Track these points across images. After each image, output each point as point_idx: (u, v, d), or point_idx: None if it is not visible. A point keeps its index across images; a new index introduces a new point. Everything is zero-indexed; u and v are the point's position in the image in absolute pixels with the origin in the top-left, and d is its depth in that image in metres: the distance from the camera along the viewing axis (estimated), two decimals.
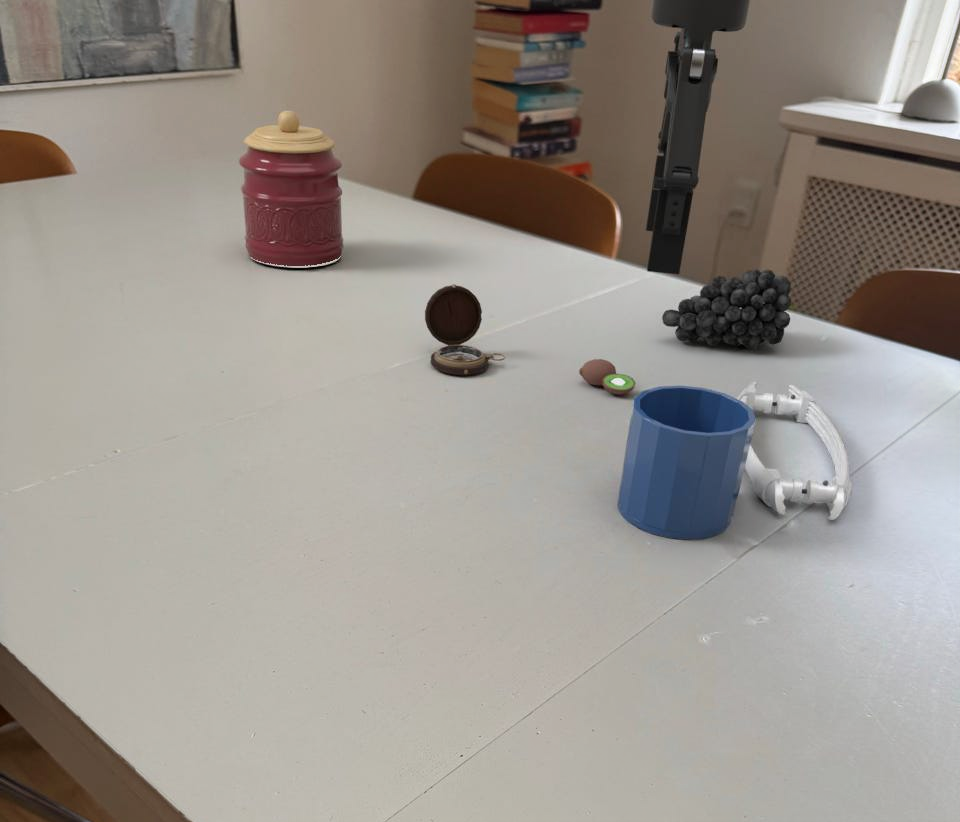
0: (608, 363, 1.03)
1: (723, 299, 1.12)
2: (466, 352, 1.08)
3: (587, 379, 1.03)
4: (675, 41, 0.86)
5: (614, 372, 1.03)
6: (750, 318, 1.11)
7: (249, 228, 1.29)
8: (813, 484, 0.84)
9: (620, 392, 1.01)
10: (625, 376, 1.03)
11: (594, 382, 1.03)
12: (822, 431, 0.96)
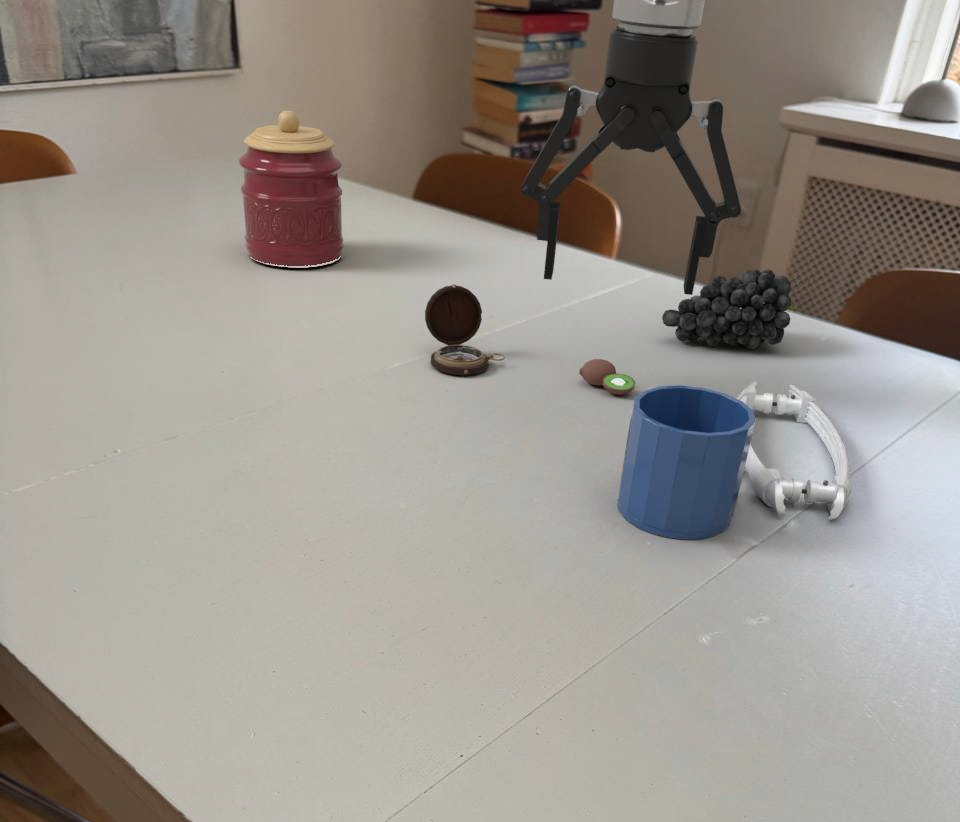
0: (608, 363, 1.03)
1: (723, 299, 1.12)
2: (466, 352, 1.08)
3: (587, 379, 1.03)
4: (576, 97, 0.87)
5: (614, 372, 1.03)
6: (750, 318, 1.11)
7: (249, 228, 1.29)
8: (813, 484, 0.84)
9: (620, 392, 1.01)
10: (625, 376, 1.03)
11: (594, 382, 1.03)
12: (822, 431, 0.96)
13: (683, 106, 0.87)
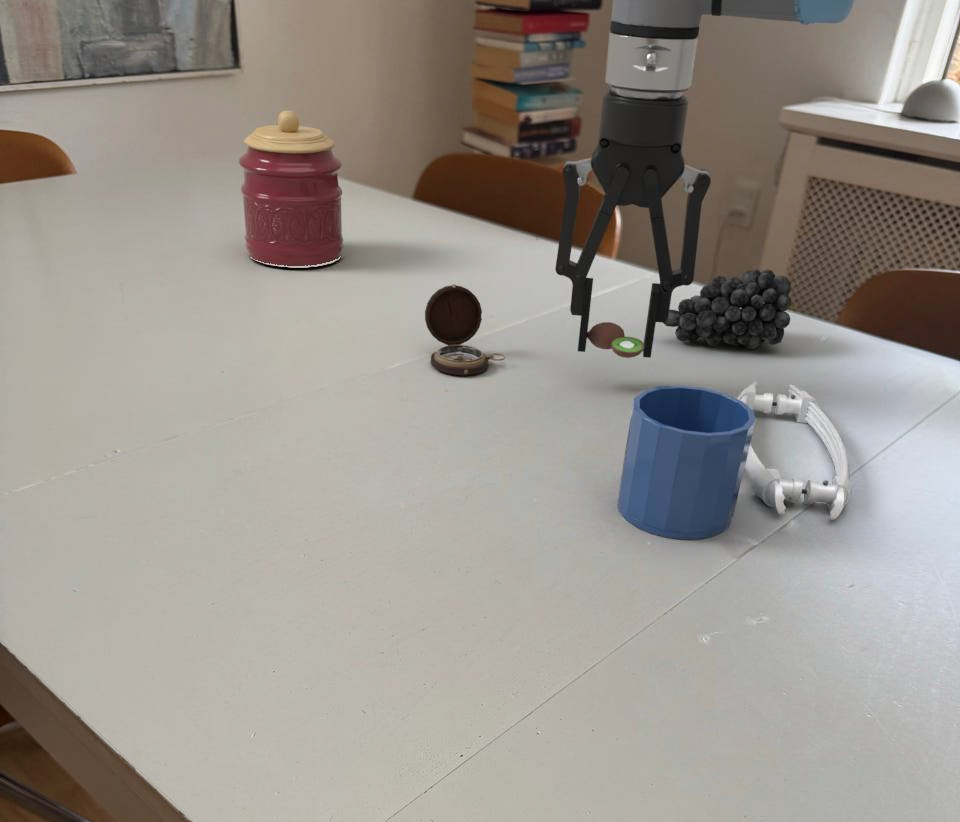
0: (616, 326, 1.01)
1: (723, 299, 1.12)
2: (466, 352, 1.08)
3: (595, 343, 1.01)
4: (572, 171, 0.91)
5: (623, 335, 1.01)
6: (750, 318, 1.11)
7: (249, 228, 1.29)
8: (813, 484, 0.84)
9: (629, 355, 0.99)
10: (634, 339, 1.00)
11: (602, 345, 1.01)
12: (822, 431, 0.96)
13: (676, 164, 0.90)
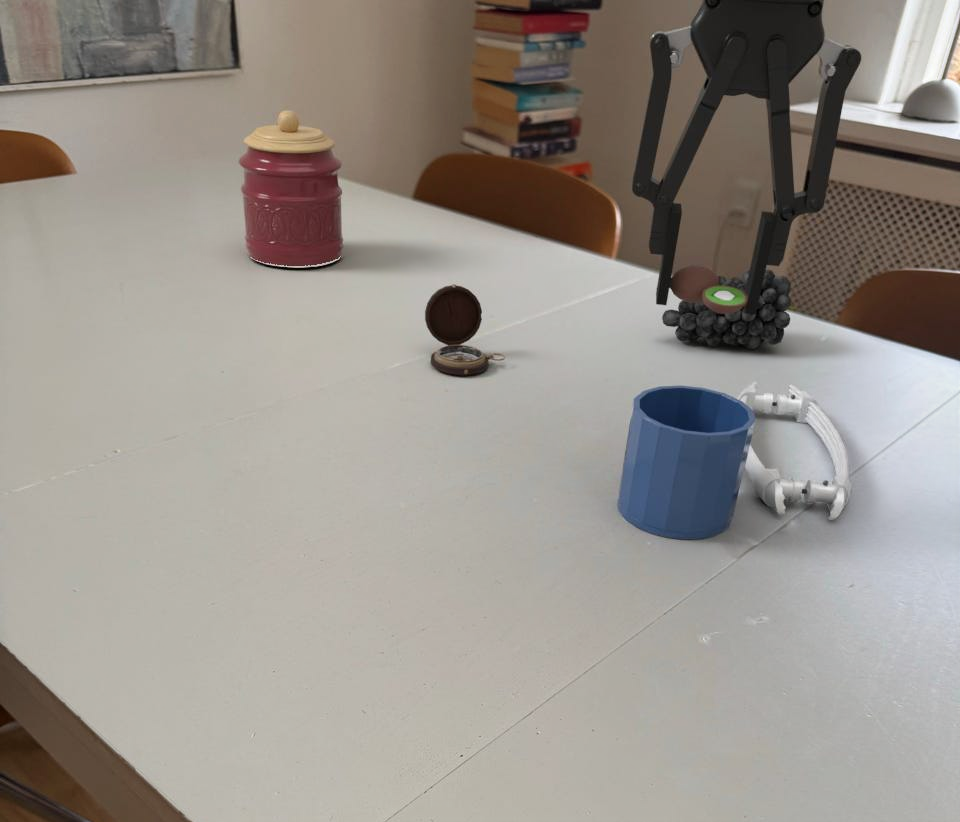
0: (709, 271, 0.74)
1: None
2: (466, 352, 1.08)
3: (680, 293, 0.74)
4: (664, 44, 0.64)
5: (717, 283, 0.74)
6: (750, 318, 1.11)
7: (249, 228, 1.29)
8: (813, 484, 0.84)
9: (727, 309, 0.73)
10: (733, 288, 0.74)
11: (689, 297, 0.74)
12: (822, 431, 0.96)
13: (813, 33, 0.63)
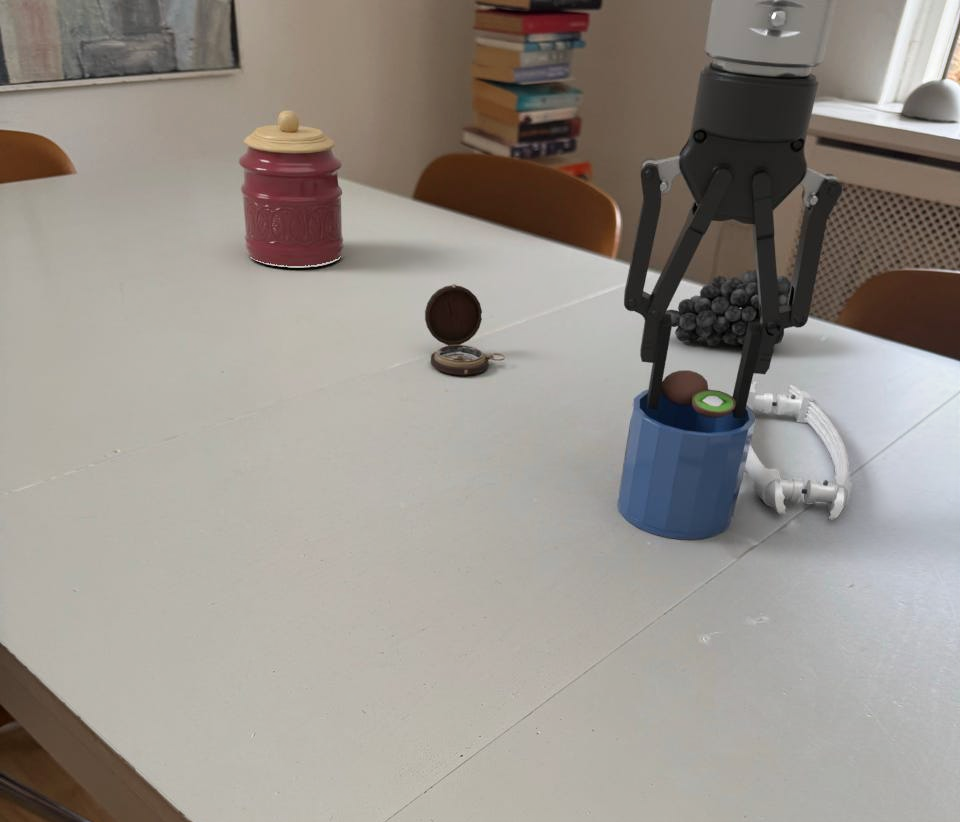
0: (698, 376, 0.77)
1: (723, 299, 1.12)
2: (466, 352, 1.08)
3: (670, 397, 0.77)
4: (654, 174, 0.67)
5: (706, 388, 0.77)
6: (750, 318, 1.11)
7: (249, 228, 1.29)
8: (813, 484, 0.84)
9: (716, 415, 0.76)
10: (722, 393, 0.77)
11: (679, 401, 0.77)
12: (822, 431, 0.96)
13: (796, 166, 0.66)
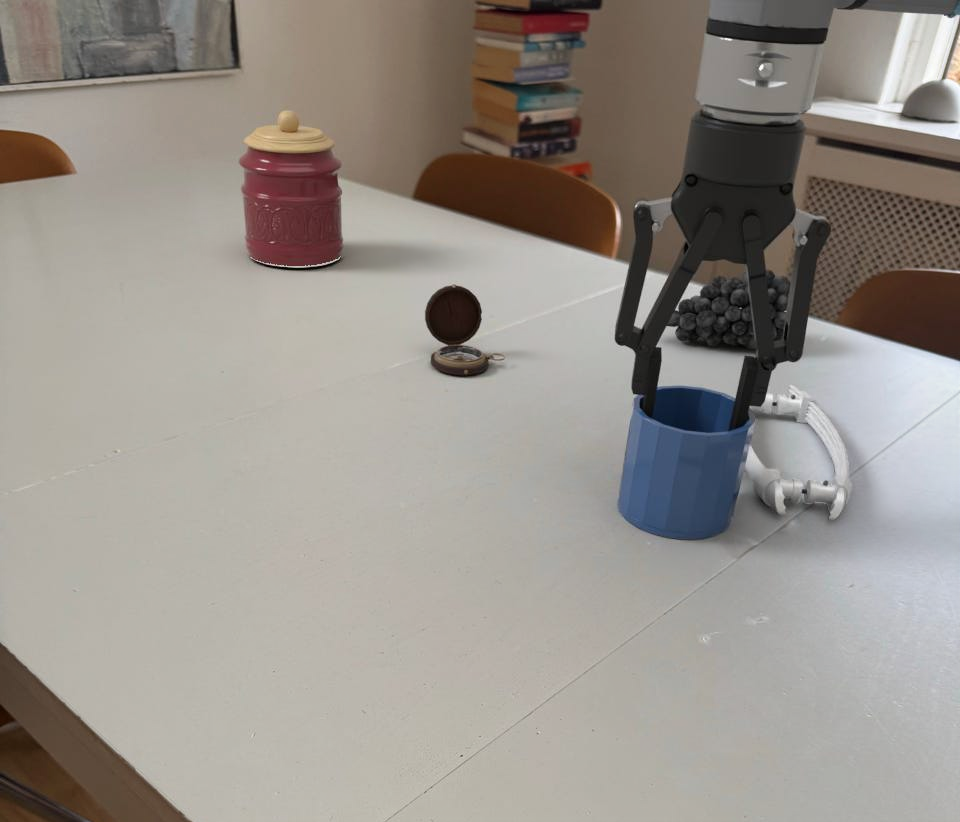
0: None
1: (723, 299, 1.12)
2: (466, 352, 1.08)
3: None
4: (646, 215, 0.69)
5: None
6: (750, 318, 1.11)
7: (249, 228, 1.29)
8: (813, 484, 0.84)
9: None
10: None
11: None
12: (822, 431, 0.96)
13: (785, 208, 0.68)
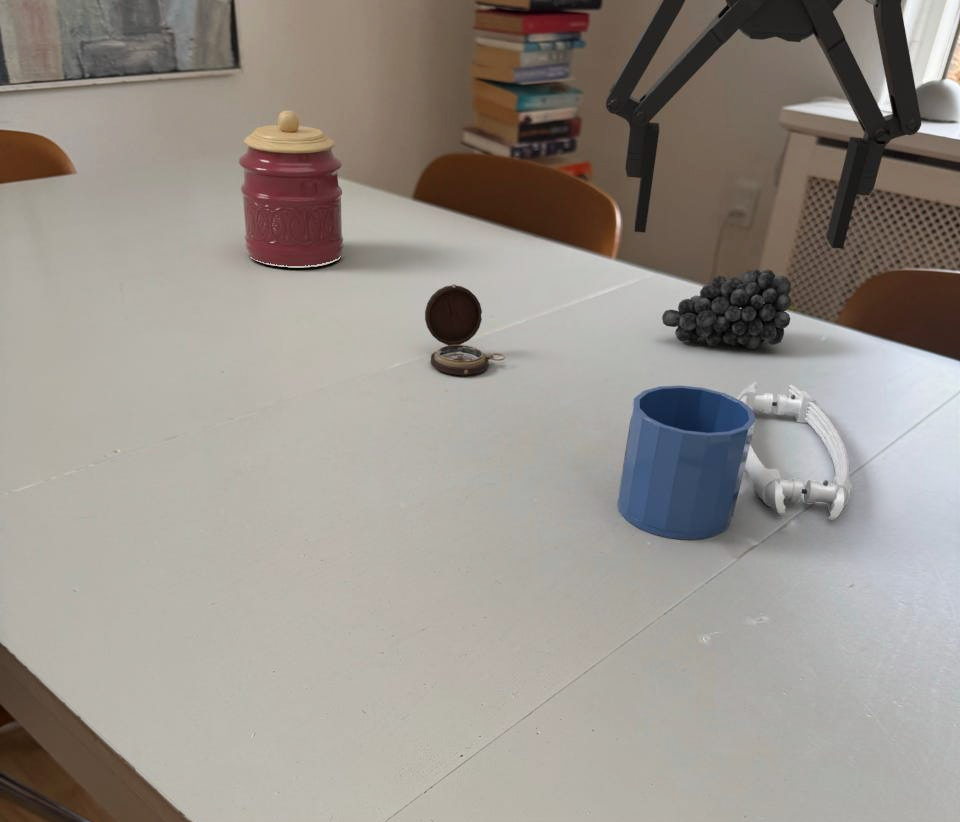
0: None
1: (723, 299, 1.12)
2: (466, 352, 1.08)
3: None
4: None
5: None
6: (750, 318, 1.11)
7: (249, 228, 1.29)
8: (813, 484, 0.84)
9: None
10: None
11: None
12: (822, 431, 0.96)
13: None
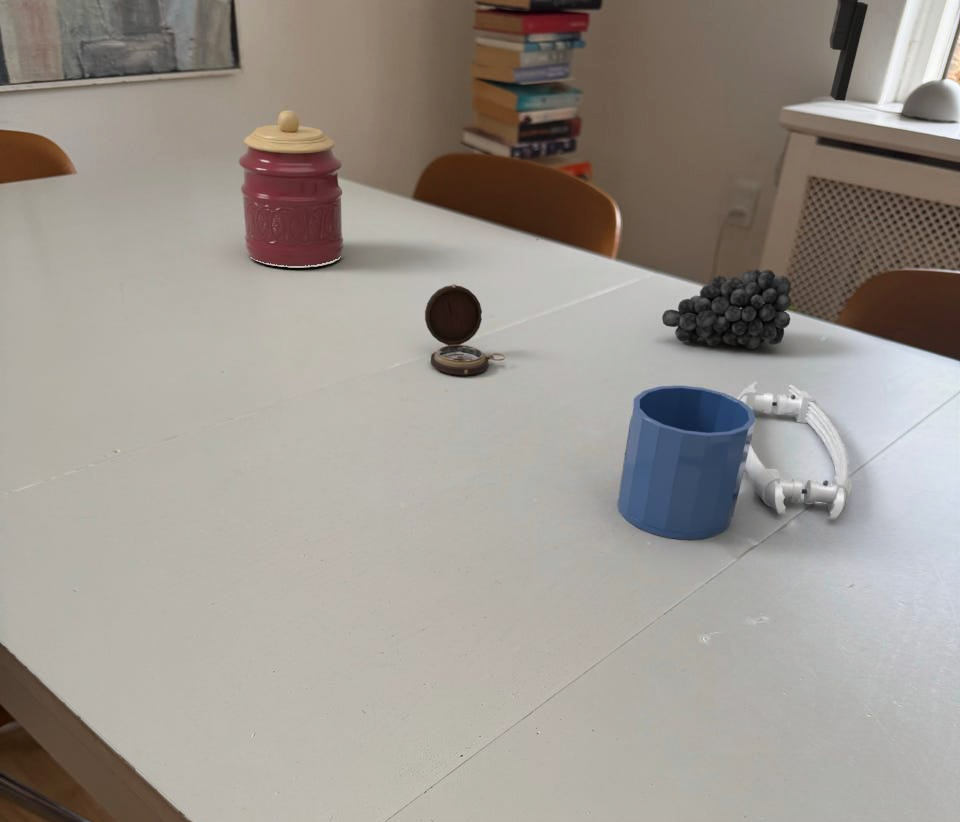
0: None
1: (723, 299, 1.12)
2: (466, 352, 1.08)
3: None
4: None
5: None
6: (750, 318, 1.11)
7: (249, 228, 1.29)
8: (813, 484, 0.84)
9: None
10: None
11: None
12: (822, 431, 0.96)
13: None
